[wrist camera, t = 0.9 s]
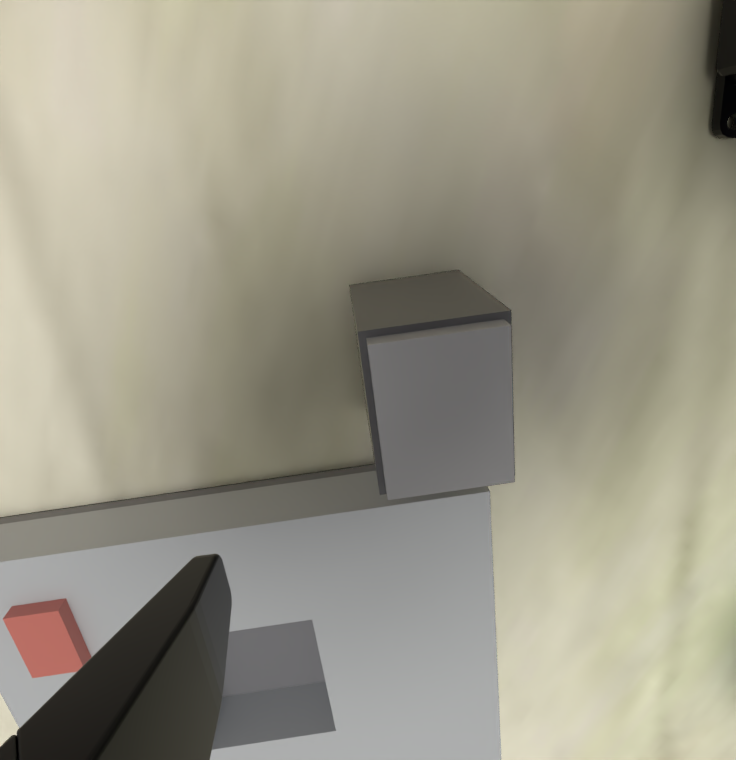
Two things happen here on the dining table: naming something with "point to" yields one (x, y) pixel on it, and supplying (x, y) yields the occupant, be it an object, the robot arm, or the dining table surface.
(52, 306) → the dining table surface
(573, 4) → the dining table surface
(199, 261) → the dining table surface
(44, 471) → the dining table surface
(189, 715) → the robot arm
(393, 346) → the plug
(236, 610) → the socket plate
